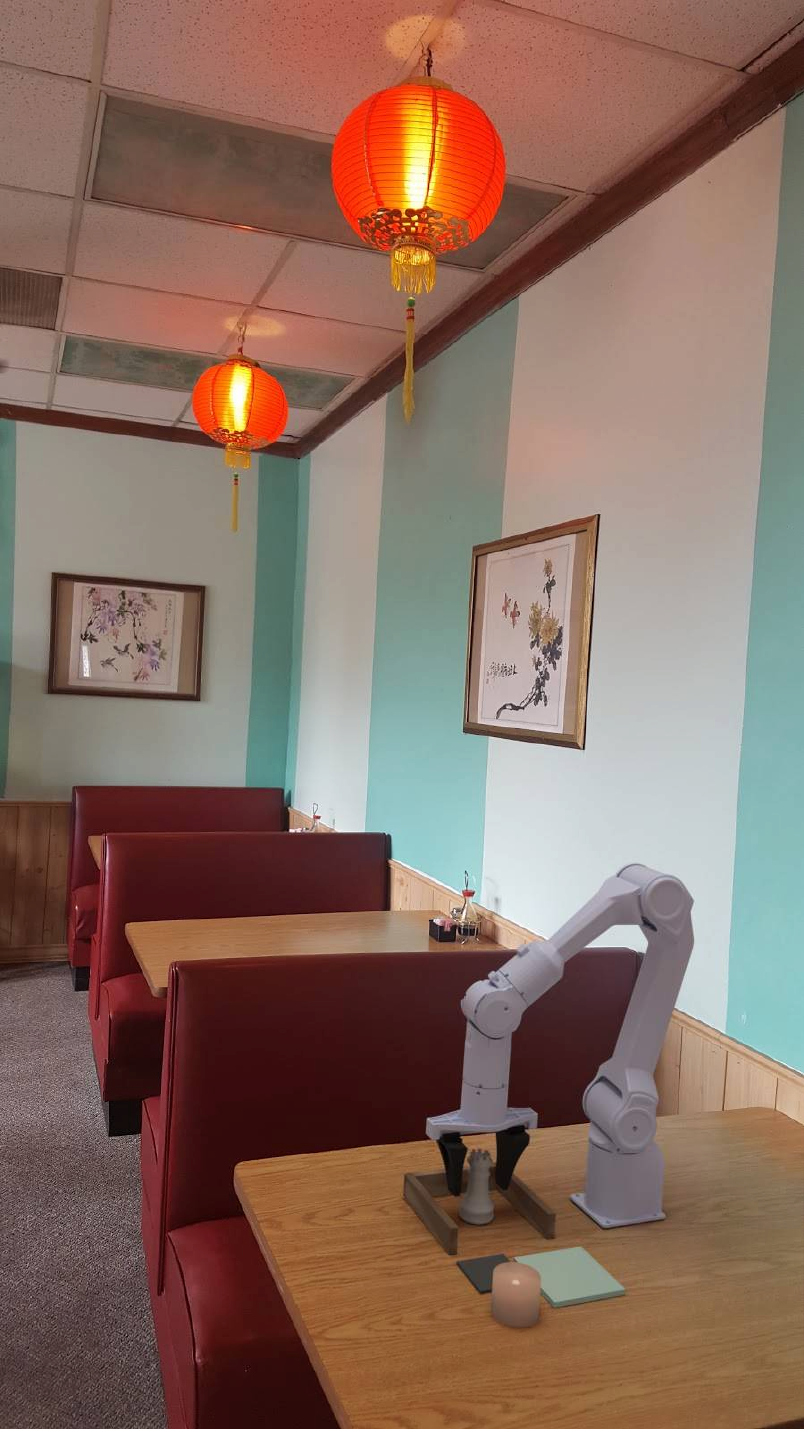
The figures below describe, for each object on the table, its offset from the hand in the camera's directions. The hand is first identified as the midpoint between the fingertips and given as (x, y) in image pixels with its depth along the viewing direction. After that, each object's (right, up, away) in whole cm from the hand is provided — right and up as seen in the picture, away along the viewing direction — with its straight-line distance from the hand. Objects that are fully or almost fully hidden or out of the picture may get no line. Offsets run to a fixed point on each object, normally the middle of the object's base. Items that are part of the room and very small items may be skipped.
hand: (478, 1189), depth 125 cm
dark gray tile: (+1, -4, -13) cm, 13 cm away
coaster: (+9, -4, -12) cm, 16 cm away
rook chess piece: (0, -4, 0) cm, 4 cm away
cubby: (0, -3, 0) cm, 3 cm away
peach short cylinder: (+2, -4, -20) cm, 20 cm away
